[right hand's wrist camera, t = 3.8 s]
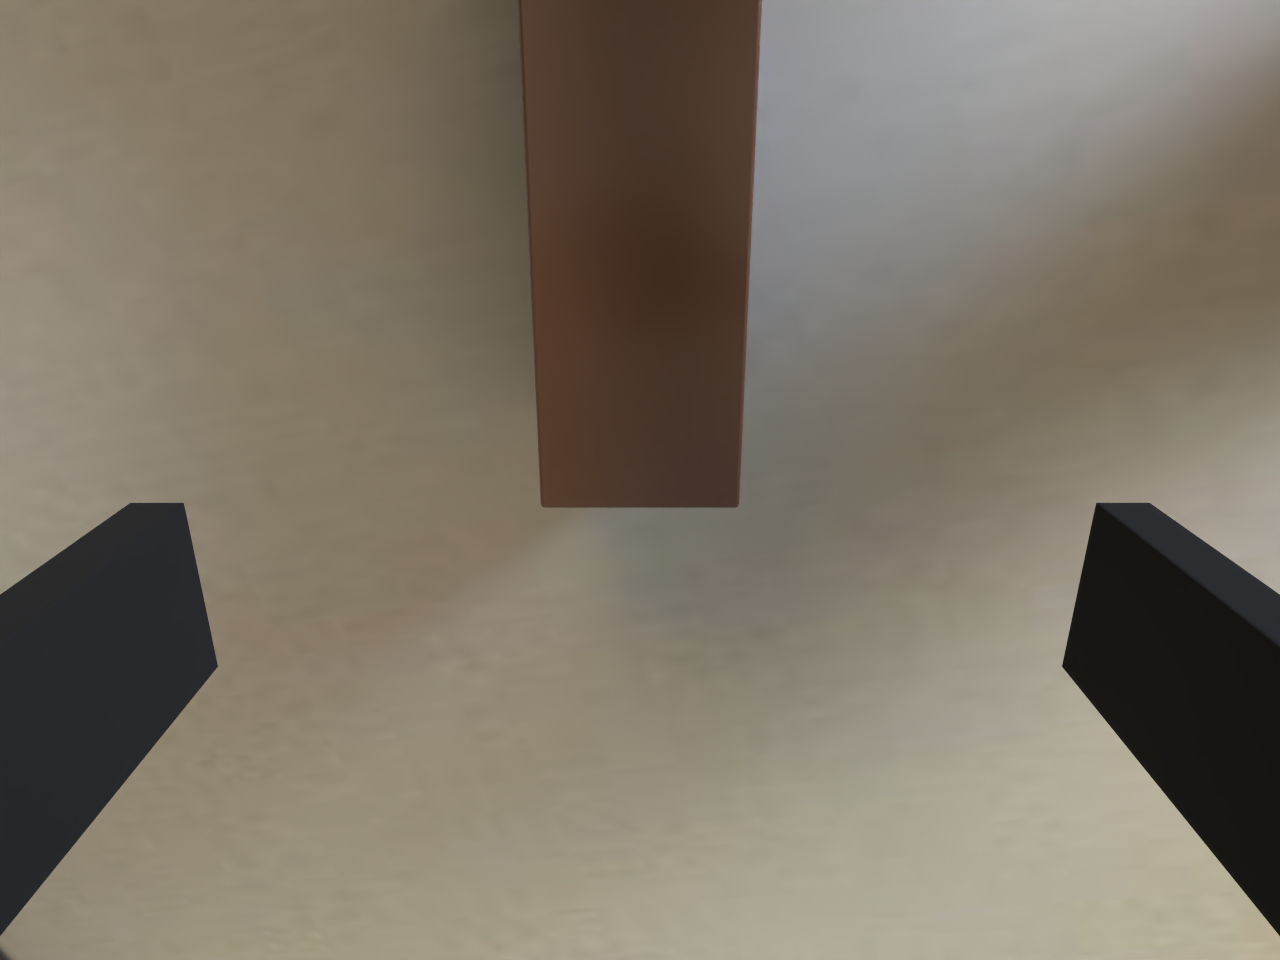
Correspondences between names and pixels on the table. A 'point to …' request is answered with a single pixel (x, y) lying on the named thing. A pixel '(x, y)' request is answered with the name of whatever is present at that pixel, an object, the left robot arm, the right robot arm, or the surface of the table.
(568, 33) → the walnut beam
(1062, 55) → the table surface
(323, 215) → the table surface
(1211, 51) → the table surface
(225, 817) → the table surface
